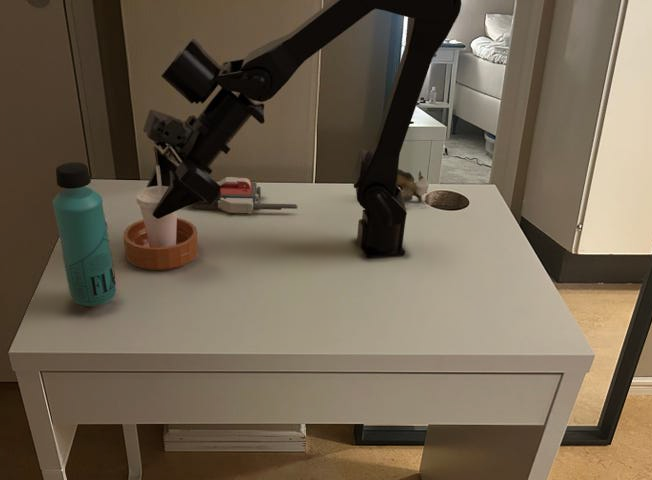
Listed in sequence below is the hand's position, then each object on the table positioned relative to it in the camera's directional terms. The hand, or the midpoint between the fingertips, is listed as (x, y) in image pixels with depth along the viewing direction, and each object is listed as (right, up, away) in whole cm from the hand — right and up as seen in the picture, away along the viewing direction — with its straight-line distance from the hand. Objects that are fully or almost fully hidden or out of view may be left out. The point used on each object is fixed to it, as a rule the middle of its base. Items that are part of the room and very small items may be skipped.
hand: (149, 207), depth 105 cm
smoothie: (+1, -6, +5) cm, 8 cm away
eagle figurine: (+41, +6, +23) cm, 48 cm away
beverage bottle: (-6, -15, -6) cm, 18 cm away
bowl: (+1, -6, +5) cm, 8 cm away
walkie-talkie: (+13, +5, +21) cm, 25 cm away
